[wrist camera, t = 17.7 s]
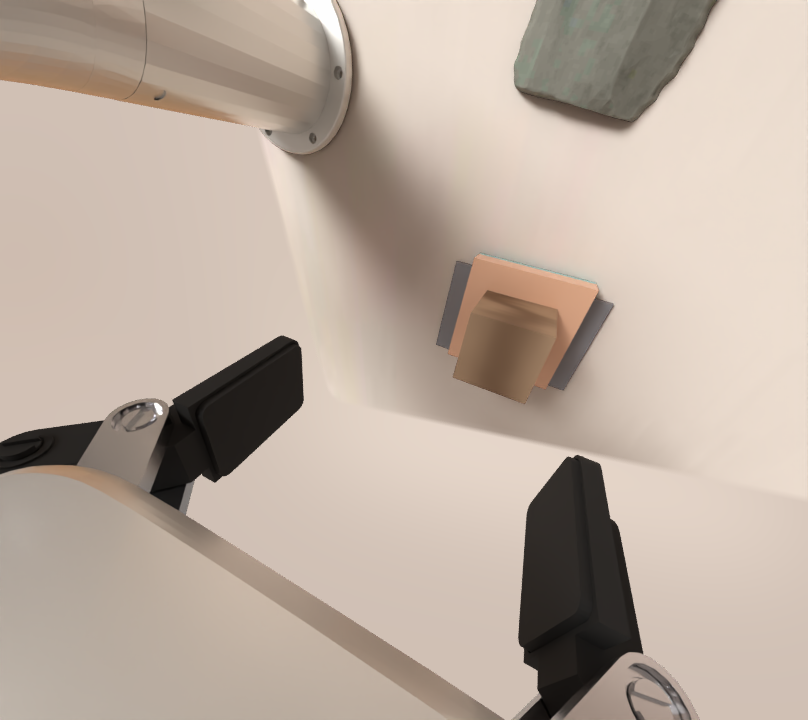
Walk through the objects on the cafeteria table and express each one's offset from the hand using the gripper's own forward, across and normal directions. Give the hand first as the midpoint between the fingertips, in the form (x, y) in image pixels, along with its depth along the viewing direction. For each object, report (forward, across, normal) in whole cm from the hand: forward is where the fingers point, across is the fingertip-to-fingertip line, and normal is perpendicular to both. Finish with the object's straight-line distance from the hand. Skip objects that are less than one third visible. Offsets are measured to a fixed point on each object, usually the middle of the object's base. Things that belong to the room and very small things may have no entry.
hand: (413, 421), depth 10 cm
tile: (+21, -3, -1) cm, 21 cm away
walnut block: (+19, -3, +4) cm, 20 cm away
